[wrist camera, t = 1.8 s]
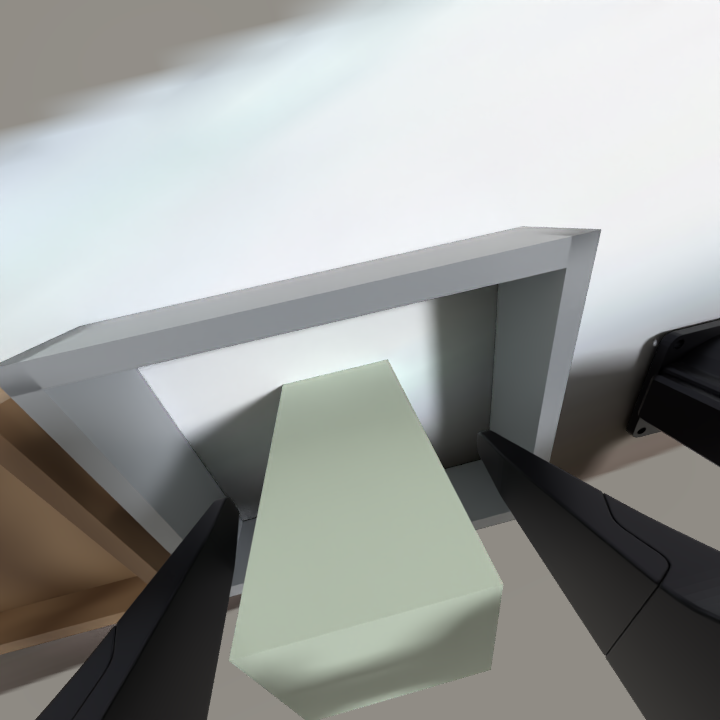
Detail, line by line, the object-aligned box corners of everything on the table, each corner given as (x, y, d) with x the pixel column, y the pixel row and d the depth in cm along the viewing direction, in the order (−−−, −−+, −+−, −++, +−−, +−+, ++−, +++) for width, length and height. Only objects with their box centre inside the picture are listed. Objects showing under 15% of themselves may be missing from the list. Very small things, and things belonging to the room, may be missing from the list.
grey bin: (523, 226, 10) (601, 229, 7) (500, 463, 16) (537, 513, 13) (79, 326, 9) (-17, 370, 6) (234, 533, 15) (217, 599, 12)
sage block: (387, 359, 11) (502, 584, 4) (400, 436, 14) (490, 669, 7) (282, 384, 11) (228, 661, 4) (312, 458, 13) (308, 722, 6)
